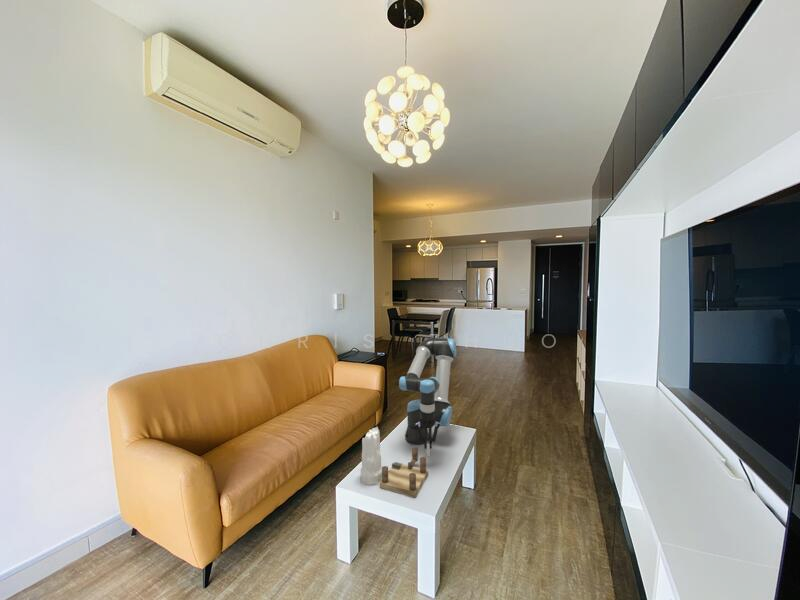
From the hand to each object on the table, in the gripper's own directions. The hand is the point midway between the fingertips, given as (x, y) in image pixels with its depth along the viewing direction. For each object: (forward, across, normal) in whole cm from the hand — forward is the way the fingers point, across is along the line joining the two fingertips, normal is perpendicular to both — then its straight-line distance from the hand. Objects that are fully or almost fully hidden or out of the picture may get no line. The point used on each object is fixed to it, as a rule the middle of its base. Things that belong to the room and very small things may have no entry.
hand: (428, 454), depth 165 cm
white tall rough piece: (+6, +29, +9) cm, 31 cm away
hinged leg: (+3, +8, +3) cm, 9 cm away
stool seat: (+6, +13, +13) cm, 19 cm away
